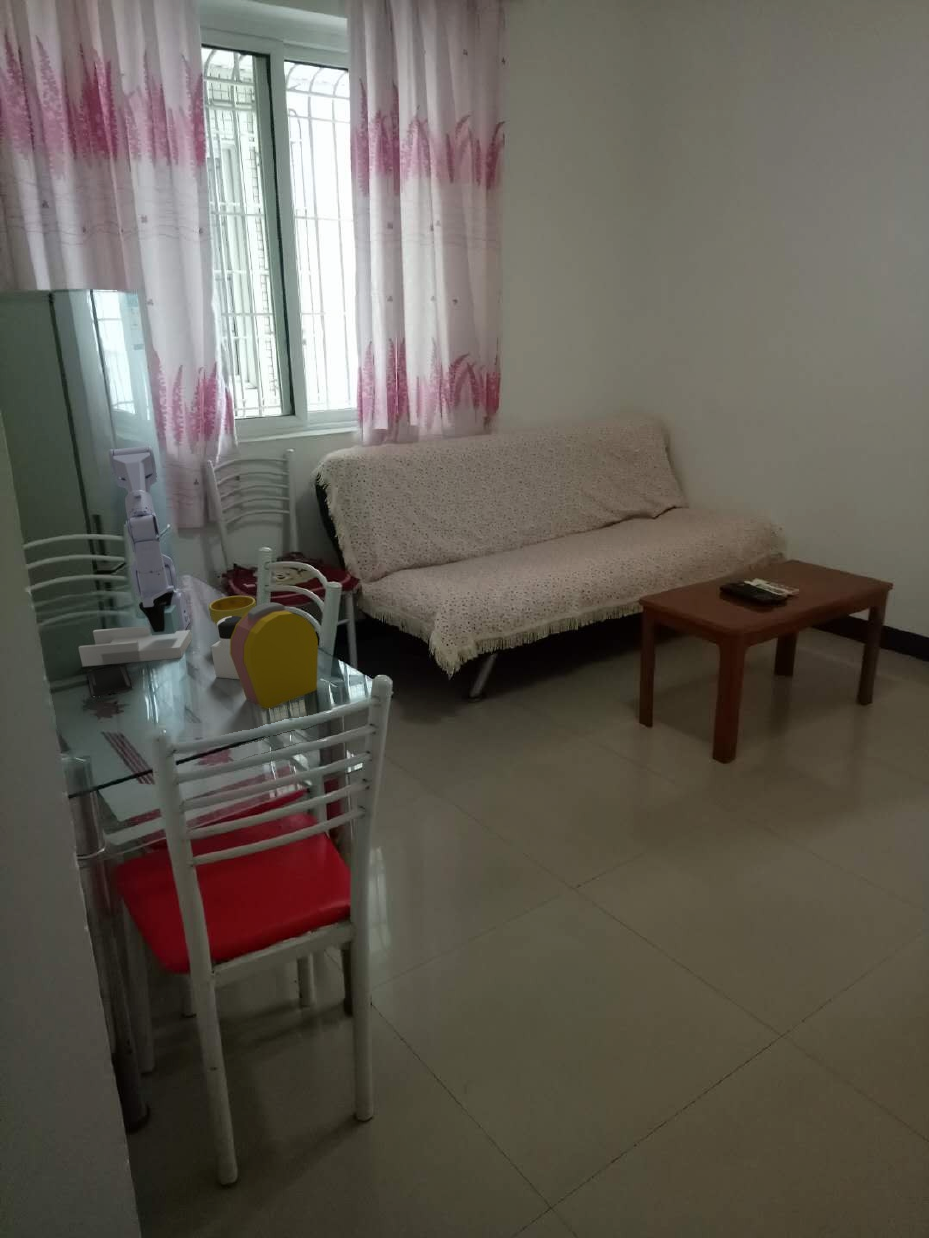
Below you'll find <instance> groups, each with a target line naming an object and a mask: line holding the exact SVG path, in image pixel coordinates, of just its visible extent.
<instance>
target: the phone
mask: <svg viewBox="0 0 929 1238" xmlns="http://www.w3.org/2000/svg"><path fill="white" fill-rule="evenodd" d="M86 672H87V673H86V675H87V681H89V682H88V684H89V688H90V693H91V697H92V696H95V697H99V696H104V695H108V694H113V693H117V694H120V693H126V692H129V691H131V690H133V683H132V681H131V678H130V675H129V672H128V669H127V665H126V663H117V664H110V665H107V666H102V667H101V666H100V667H97V668H93V669H89V670H88V671H86ZM108 696H109V695H108ZM104 697H105V696H104ZM99 698H100V697H99Z"/></svg>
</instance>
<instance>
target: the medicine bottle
mask: <svg viewBox="0 0 929 1238" xmlns="http://www.w3.org/2000/svg"><path fill="white" fill-rule="evenodd" d="M241 619H242V617H240V616H230V617H226V618H223V619H221V620H219V621H218V623H217V627H216V630H217V634H218V636H217V637H218V641H217V642H215V643H214V644H212V645H211V646H210V649H211V655H212V661H213V667H214V672H215V677H216V678H222V679H230V680H232V679H233V680H240V679H239V676H238V673H237V671H236V668H235V665H234V663H233V660H232V658H231V655H230V639H231V636H232V634H233V631H234V629H235V626H236V624H237V623H238V622H239V621H240V620H241Z"/></svg>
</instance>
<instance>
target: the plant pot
mask: <svg viewBox="0 0 929 1238" xmlns="http://www.w3.org/2000/svg"><path fill="white" fill-rule="evenodd" d="M255 606H257V601H256V599H255V598H254V597H252V596H249V595H231V596H226V597H221V598H219V599H218V598H217V599H216V600H213V601H212V602H211V603H210V604H209V606H208V610H209V615H210V616H209V617H210V620H211V622H212V623H214V625H215V627H216V628H217V623H218V621H219V620H221V619H223V618H226V617H230V616H240V617H243V616H244V615H245V614H246V613H248V612H249V611H250V610H251V609H252V608H254V607H255Z"/></svg>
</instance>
